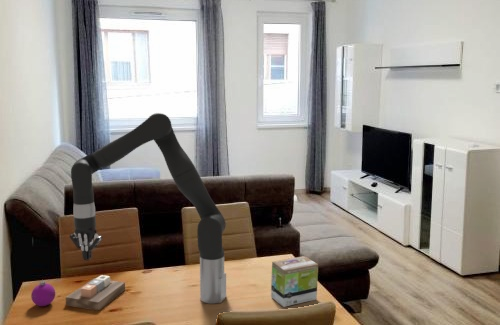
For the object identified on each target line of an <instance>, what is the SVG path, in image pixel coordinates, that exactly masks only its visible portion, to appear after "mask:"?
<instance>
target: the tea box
mask: <svg viewBox="0 0 500 325" xmlns="http://www.w3.org/2000/svg"><path fill="white" fill-rule="evenodd" d="M271 262H272V264H271V280H270V281H271V284H270V286H271V287H270V297H271V298H272V299H273V300H274V301H275V302H277V303H278V305H280V306H281V307H283V308H286V307H289V306H292V305H298V304H302V303H306V302H312V301H317V296H318V281H319V280H318V277H319V276H318V275H319V264H318V263H316V262H315V261H313V260H311V259H310V258H309V257H307V256H304V255H302V256H297V257H292V258H286V259H282V260H280V259H279V260H276V261H271Z"/></svg>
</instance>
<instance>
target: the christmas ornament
mask: <svg viewBox="0 0 500 325" xmlns="http://www.w3.org/2000/svg"><path fill="white" fill-rule="evenodd" d="M30 297H31V300H32V303H34V304H35V305H36V306H38V307H46V306H48V305H50V304H51V303H52V302H53V301H54V299H55V298H56V290H55V287H54V286H53V285H51V284H50V283H47V282H46V281H45V280H43V279H42V280H41V281H40V282H39V284H38V285H35V287H34V288H33V289H32V292H31V296H30Z"/></svg>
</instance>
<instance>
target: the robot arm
mask: <svg viewBox="0 0 500 325" xmlns="http://www.w3.org/2000/svg"><path fill="white" fill-rule="evenodd" d="M151 141H154V142H155V144H156V145H157V147H158V149H159V150H160V152H161V154H162V155H163V158H164V161H165V163H166V166H167V169H168V171H169V173H170V176H171V178H172V179H173V181H174V183H175V186H177V189H178V190H179V191H180V193H181V194H182V195H183V196H184V197H185V198H186V199H187V200H189V201H190V203H191V204H192V205H193V206H194V208H195V210H196V212H197V213H198V215H199V218H200V220H199V222H198V224H197V247H198V248H197V249H198V252H199V281H200V282H199V284H200V285H199V286H200V287H199V288H200V290H199V291H200V292H199V296H200V297H199V298H200V301H201V302H202V303H205V304H222V303H223V301H224V300H225V299H226V298H227V273H226V272H225V248H224V247H223V233H224V231H225V230H226V226H227V224H226V219H225V217H224V215H223V213H222V212H221V211H220V209H219V208H218V207H217V205H216V204H215V202H214V201H213V199H212V198H211V196H210V194H209V192H208V190H207V188H206V186H205V183H204V182H203V180H202V178H201V175H200V174H199V172H198V170H197V167H195V165H194V163H193V161H192V160H191V159H190V158H191V157H189V155H188V154H187V152H185V150H184V149H183V148H182V146H181V144H180V142H179V140H178V138H177V136H176V133H175V131H174V128H173V124H172V120H171V119H170V117H169V116H168V115H167V114H164V113H161V112H156V113H153V114H151V115H149V116H148V118H146V119H145V120H144V121H143V122H142V123H140V124H139V125H138V126H136V127H135V128H134V129H132V130H131V131H129V132H127V133H125V134H124V135H121V136H120V137H118V138H116V139H115V140H113V141H111V142H109V143H106V144H105V145H104V146H102V147H100V148H98V149H97V150H95V151H94V152H92V153H89V154H88V155H86V156H83V157H82V158H80V159H78V160H76V161H75V162H74V163H73V165H72V166H71V168H70V177H71V185H72V189H73V190H72V191H73V192H72V194H73V195H72V198H73V200H72V201H73V210H72V211H73V212H72V213H73V227H74V233H72V234H70V235H69V239H70V240H71V241H72V242H73V244H74V245H75V247H76V248H77V250H78V249H80V250H81V252H82V259H83V261H88V262H89V261H90V260H91V259H92V250H94V249H96V248H97V247H98V246H99V244H100V242H102V240H103V236H102V235H99V234H98V232H97V229H96V226H97V221H96V220H97V218H96V206H95V194H94V188H93V174H95V173H97V172H98V171H99V170H101V169H105V168H107V167H110V166H112V165H114V164H115V163H116V162H118V161H120V160H122V159H124V158H125V157H126V156H128V155H129V154H130V153H132V152H133V151H134V150H136V149H138V148H139V147H141V146H142V145H145V144H146V143H149V142H151Z"/></svg>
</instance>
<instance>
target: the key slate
mask: <svg viewBox="0 0 500 325" xmlns="http://www.w3.org/2000/svg"><path fill="white" fill-rule="evenodd" d="M93 279H94V278H93ZM90 281H91V280H90ZM87 283H88V282H87ZM88 284H90V285H97V293H98V292H100V291H101V290H103V289H104V281H102V280H95V279H94V280H93V281H91V282H90V283H88Z"/></svg>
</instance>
